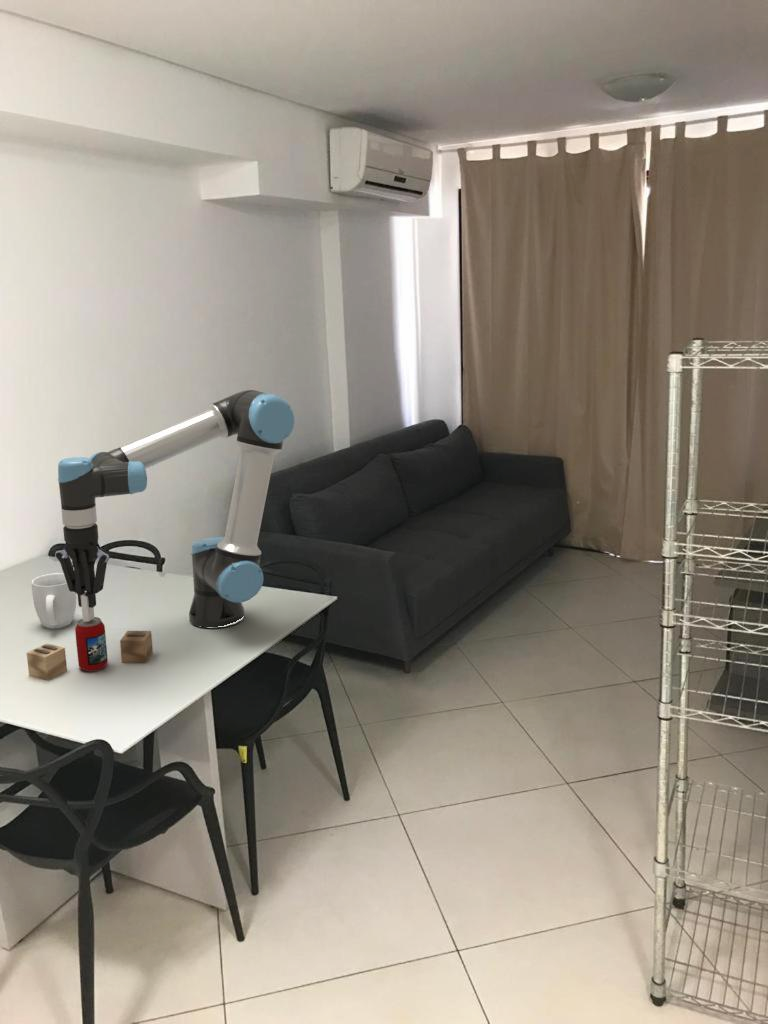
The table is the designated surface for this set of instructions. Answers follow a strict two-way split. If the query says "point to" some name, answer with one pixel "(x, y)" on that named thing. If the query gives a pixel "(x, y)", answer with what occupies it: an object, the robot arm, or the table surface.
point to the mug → (53, 600)
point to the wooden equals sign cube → (46, 661)
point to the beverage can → (91, 644)
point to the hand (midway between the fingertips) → (88, 619)
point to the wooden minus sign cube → (136, 646)
